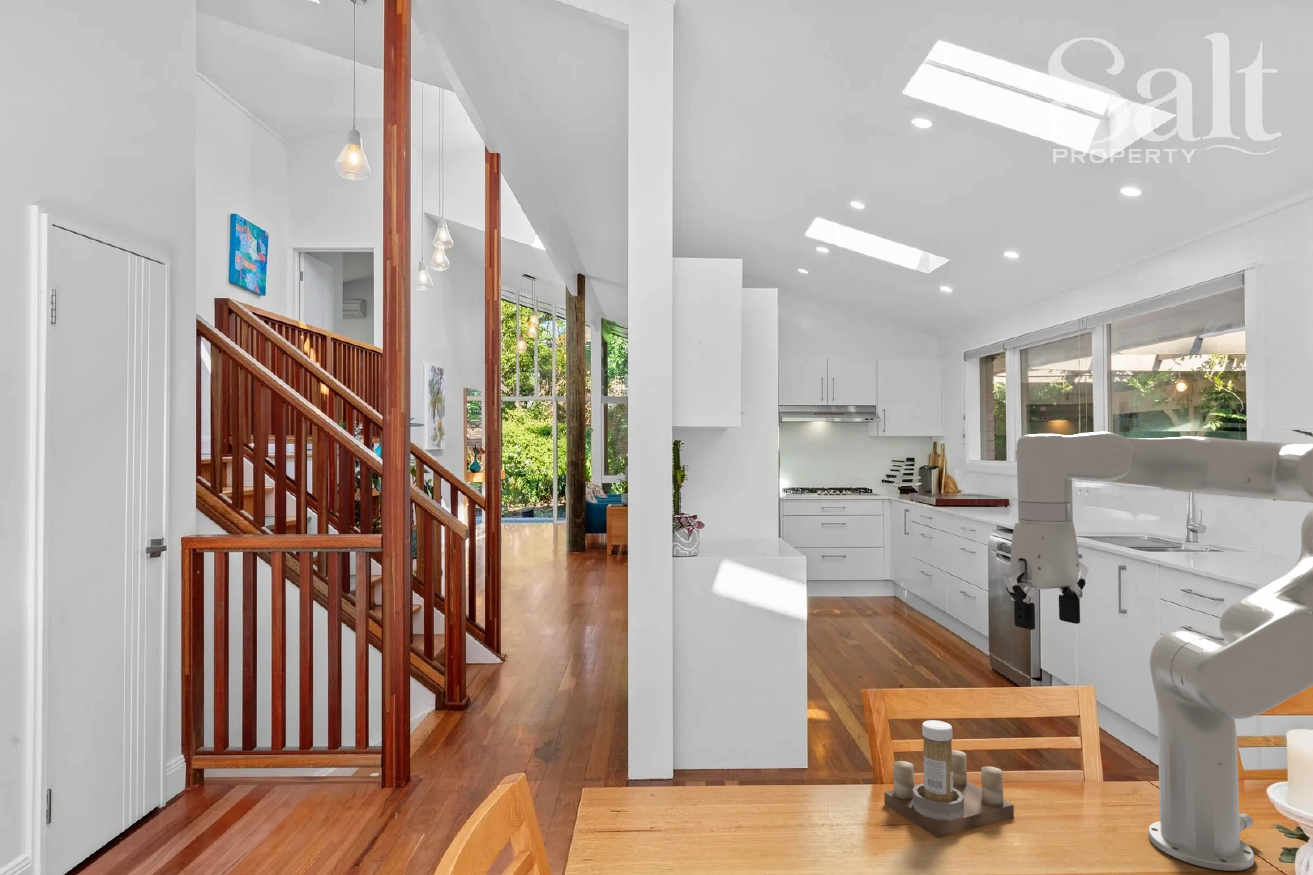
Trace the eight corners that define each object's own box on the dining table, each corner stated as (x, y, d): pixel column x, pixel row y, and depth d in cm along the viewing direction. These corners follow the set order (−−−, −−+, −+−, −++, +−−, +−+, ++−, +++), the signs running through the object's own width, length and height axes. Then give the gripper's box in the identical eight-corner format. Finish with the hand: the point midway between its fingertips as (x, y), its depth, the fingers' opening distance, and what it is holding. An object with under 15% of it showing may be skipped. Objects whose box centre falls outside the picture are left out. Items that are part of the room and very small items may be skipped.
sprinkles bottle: (960, 810, 117) (958, 725, 117) (942, 818, 114) (940, 731, 114) (935, 799, 120) (933, 717, 121) (917, 807, 118) (915, 722, 118)
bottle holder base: (956, 786, 130) (956, 746, 130) (1013, 817, 118) (1012, 773, 119) (884, 804, 123) (883, 762, 123) (937, 837, 112) (937, 791, 112)
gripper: (1062, 510, 120) (1064, 615, 120) (984, 514, 114) (986, 625, 113) (1106, 513, 114) (1108, 624, 113) (1025, 517, 107) (1028, 635, 106)
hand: (1047, 624), depth 113 cm, fingers open, 9 cm apart
